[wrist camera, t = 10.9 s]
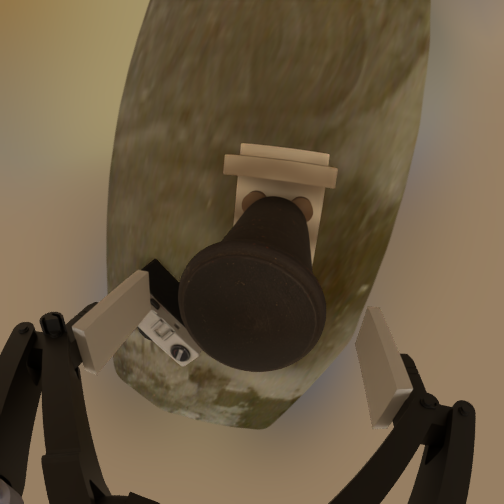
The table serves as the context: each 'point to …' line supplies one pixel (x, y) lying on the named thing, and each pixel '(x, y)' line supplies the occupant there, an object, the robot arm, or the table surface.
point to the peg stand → (282, 180)
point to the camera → (167, 317)
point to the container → (255, 291)
